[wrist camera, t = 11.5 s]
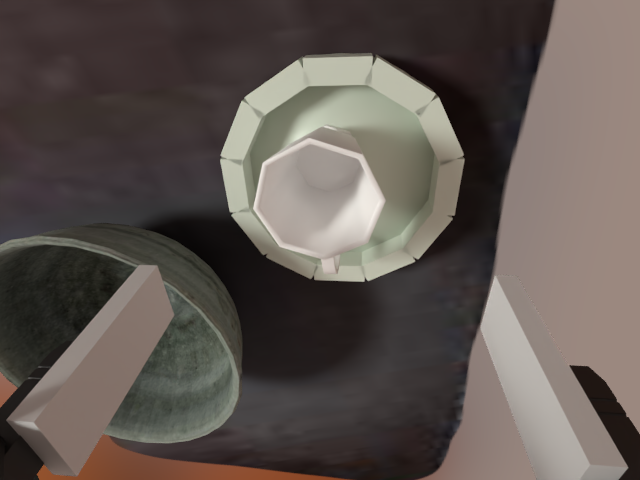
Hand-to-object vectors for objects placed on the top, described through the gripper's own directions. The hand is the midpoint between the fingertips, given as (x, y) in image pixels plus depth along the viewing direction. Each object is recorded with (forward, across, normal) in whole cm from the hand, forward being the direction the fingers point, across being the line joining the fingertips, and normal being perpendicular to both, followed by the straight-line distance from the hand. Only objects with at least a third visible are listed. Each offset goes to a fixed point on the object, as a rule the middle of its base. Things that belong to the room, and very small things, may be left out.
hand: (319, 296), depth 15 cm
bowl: (+15, -17, -12) cm, 25 cm away
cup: (+14, 0, -1) cm, 14 cm away
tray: (+15, 0, -1) cm, 15 cm away
